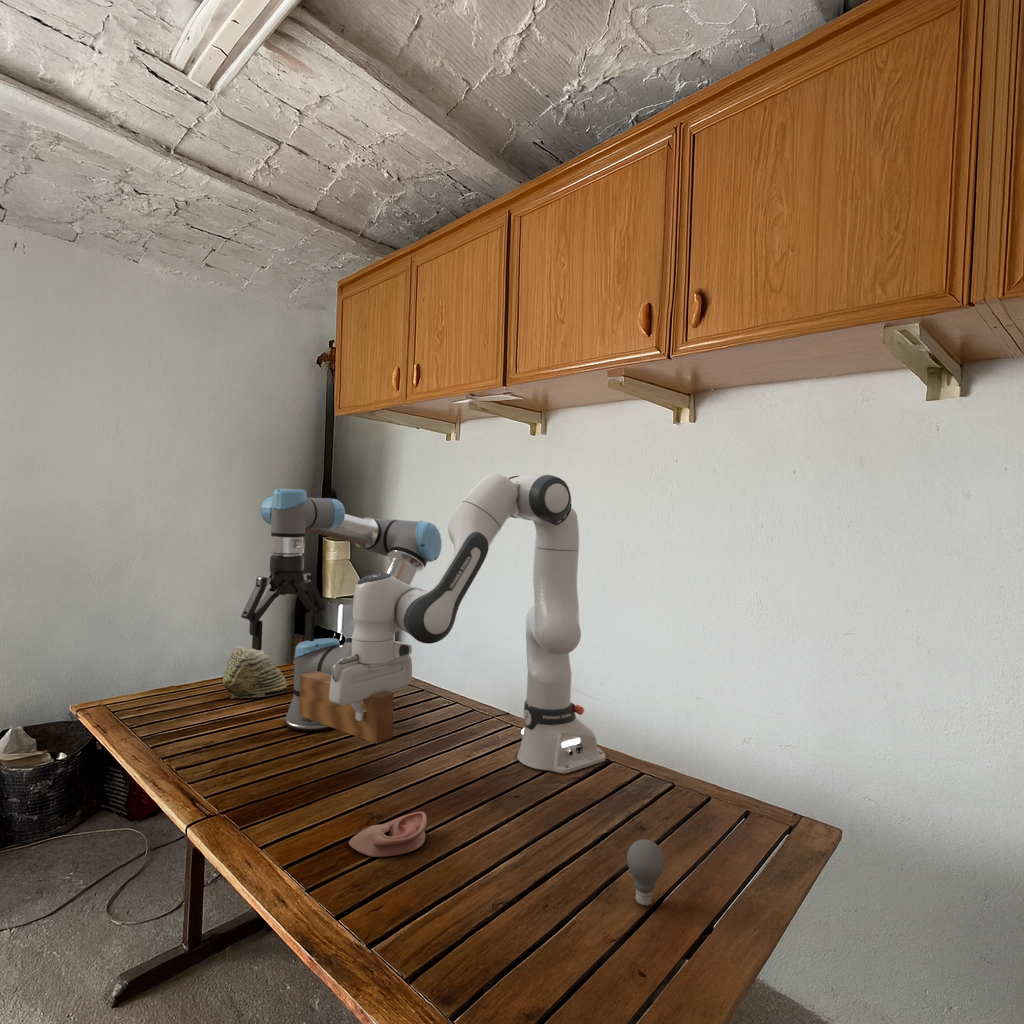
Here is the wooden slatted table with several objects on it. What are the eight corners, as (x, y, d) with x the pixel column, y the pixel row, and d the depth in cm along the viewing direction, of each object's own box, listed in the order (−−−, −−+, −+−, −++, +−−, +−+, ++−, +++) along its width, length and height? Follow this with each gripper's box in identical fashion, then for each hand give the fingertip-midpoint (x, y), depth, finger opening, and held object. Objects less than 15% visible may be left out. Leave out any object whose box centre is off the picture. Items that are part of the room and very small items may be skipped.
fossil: (218, 695, 195) (220, 647, 195) (278, 685, 208) (279, 640, 207) (228, 703, 189) (230, 653, 188) (289, 692, 201) (290, 645, 201)
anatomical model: (341, 830, 113) (368, 800, 124) (340, 851, 113) (367, 820, 124) (411, 841, 110) (433, 810, 122) (411, 863, 111) (432, 830, 122)
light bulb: (620, 891, 105) (623, 832, 105) (655, 891, 106) (658, 832, 106) (630, 915, 99) (633, 852, 99) (667, 914, 100) (670, 852, 100)
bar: (299, 715, 144) (300, 674, 144) (315, 710, 148) (316, 670, 148) (376, 744, 130) (378, 698, 129) (392, 737, 133) (394, 693, 133)
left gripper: (244, 558, 136) (241, 656, 137) (341, 553, 156) (338, 639, 156) (227, 555, 141) (223, 650, 141) (323, 551, 160) (320, 634, 161)
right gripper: (343, 663, 123) (342, 733, 123) (417, 644, 140) (415, 707, 140) (323, 657, 127) (321, 726, 127) (397, 640, 143) (395, 701, 144)
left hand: (283, 644), depth 149 cm, fingers open, 13 cm apart
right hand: (371, 715), depth 134 cm, fingers closed on bar, 4 cm apart
